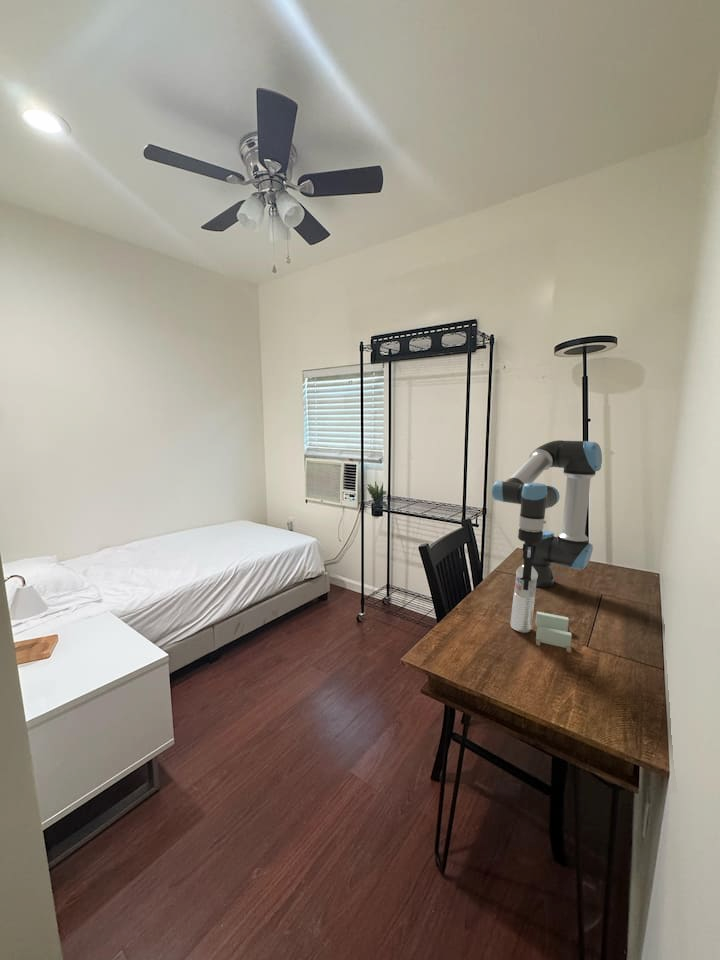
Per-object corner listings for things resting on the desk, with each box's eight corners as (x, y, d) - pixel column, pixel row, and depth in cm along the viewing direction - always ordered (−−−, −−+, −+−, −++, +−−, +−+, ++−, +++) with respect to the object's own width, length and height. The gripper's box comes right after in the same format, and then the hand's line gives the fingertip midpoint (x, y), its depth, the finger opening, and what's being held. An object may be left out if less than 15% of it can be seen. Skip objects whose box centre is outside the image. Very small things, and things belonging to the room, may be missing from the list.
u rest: (536, 644, 124) (537, 631, 123) (535, 620, 140) (536, 608, 139) (570, 652, 120) (572, 639, 119) (566, 626, 136) (567, 614, 135)
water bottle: (532, 634, 130) (541, 565, 126) (511, 631, 131) (519, 562, 127) (528, 624, 136) (536, 558, 132) (508, 621, 138) (516, 555, 134)
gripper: (543, 538, 118) (536, 608, 121) (542, 523, 136) (536, 585, 139) (517, 534, 121) (511, 603, 124) (519, 521, 139) (514, 581, 142)
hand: (524, 593), depth 132 cm, fingers closed on water bottle, 7 cm apart
